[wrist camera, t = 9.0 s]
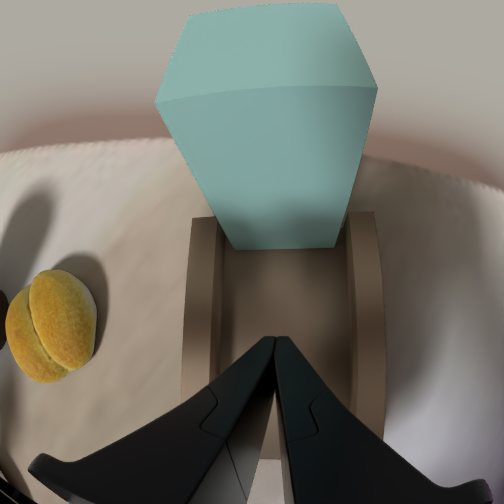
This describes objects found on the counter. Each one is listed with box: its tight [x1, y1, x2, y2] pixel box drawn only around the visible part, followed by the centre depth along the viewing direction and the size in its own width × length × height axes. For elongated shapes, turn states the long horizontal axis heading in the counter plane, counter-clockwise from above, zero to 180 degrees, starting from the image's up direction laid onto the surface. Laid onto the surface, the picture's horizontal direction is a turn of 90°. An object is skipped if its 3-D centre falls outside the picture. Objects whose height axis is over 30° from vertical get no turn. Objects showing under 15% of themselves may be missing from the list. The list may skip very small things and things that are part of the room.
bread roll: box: [5, 269, 97, 383], centre depth 17 cm, size 8×9×4 cm
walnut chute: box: [181, 212, 386, 460], centre depth 15 cm, size 14×10×2 cm
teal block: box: [154, 3, 378, 250], centre depth 13 cm, size 6×6×12 cm
